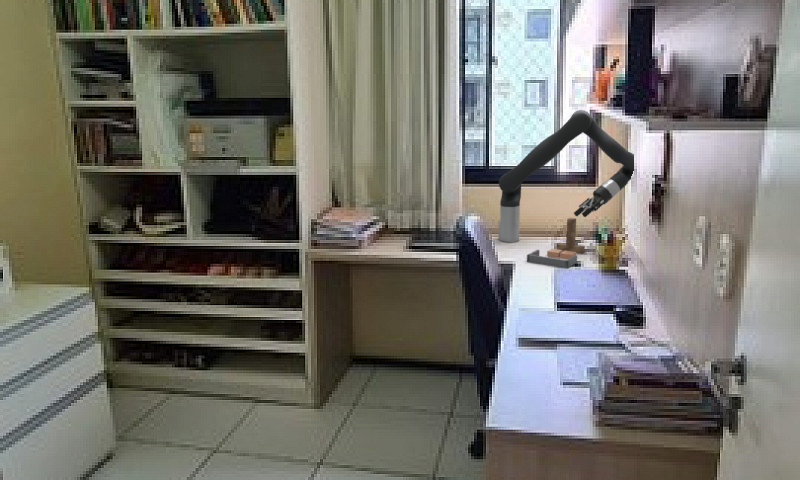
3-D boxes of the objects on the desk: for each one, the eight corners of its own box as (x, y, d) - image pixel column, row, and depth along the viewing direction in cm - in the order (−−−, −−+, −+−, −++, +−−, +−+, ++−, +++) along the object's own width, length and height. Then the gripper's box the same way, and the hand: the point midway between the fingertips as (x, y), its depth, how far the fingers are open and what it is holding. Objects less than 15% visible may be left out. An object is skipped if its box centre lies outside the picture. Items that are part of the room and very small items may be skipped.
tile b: (559, 258, 252) (560, 253, 251) (564, 256, 255) (565, 250, 255) (571, 260, 249) (571, 254, 248) (575, 257, 252) (576, 252, 252)
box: (526, 261, 248) (527, 254, 247) (537, 256, 255) (537, 249, 255) (567, 268, 237) (567, 261, 236) (576, 262, 244) (577, 255, 244)
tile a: (547, 256, 255) (547, 251, 254) (551, 254, 259) (551, 248, 258) (558, 258, 252) (558, 252, 252) (562, 255, 256) (562, 250, 255)
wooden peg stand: (556, 250, 264) (557, 218, 260) (558, 248, 266) (560, 216, 262) (582, 254, 257) (583, 220, 253) (584, 252, 259) (586, 219, 255)
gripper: (594, 185, 264) (567, 208, 263) (609, 184, 250) (580, 209, 249) (603, 198, 265) (577, 221, 264) (619, 198, 251) (591, 222, 250)
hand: (579, 215), depth 256 cm, fingers open, 8 cm apart
